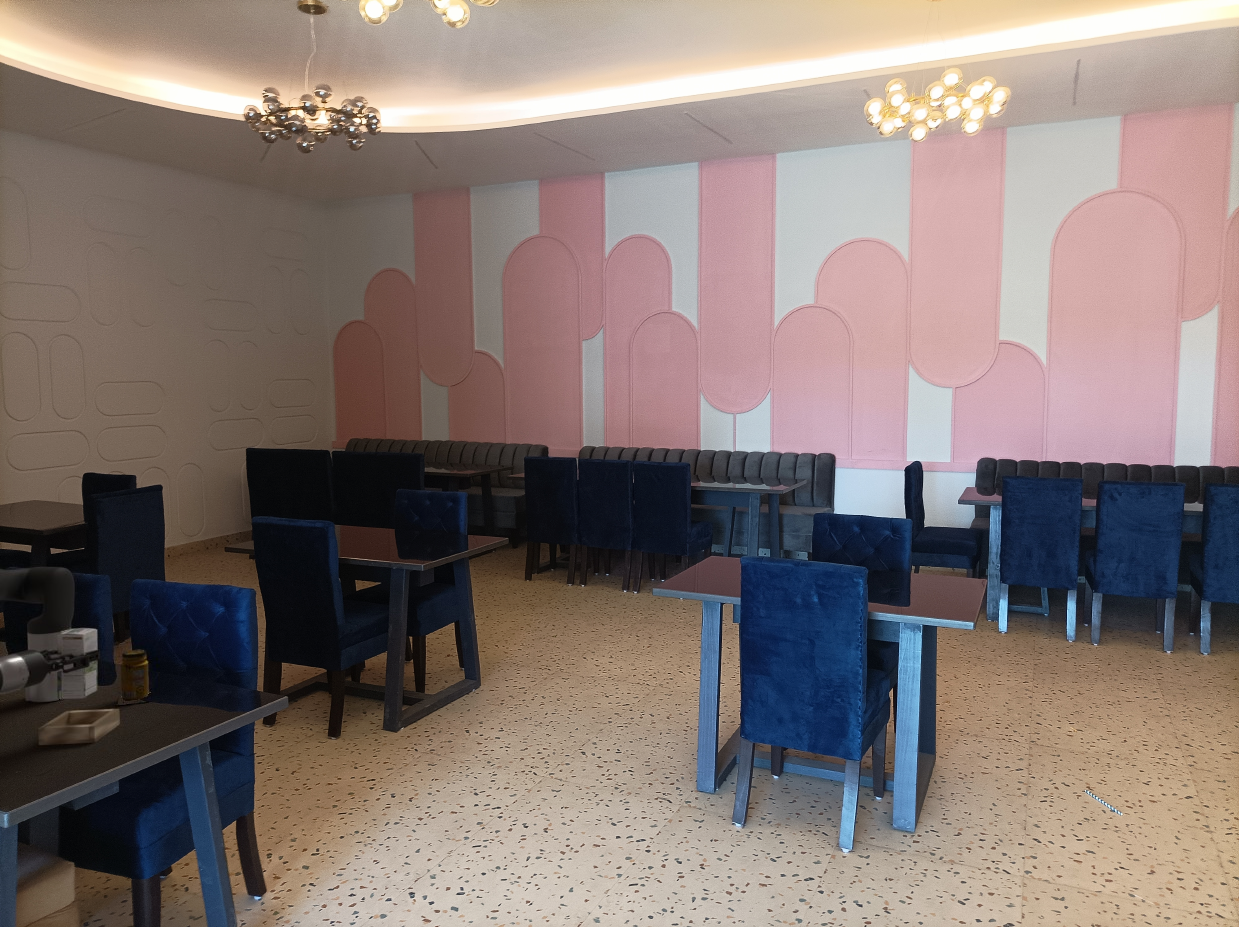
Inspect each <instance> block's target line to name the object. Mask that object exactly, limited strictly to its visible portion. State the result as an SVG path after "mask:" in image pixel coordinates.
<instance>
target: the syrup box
mask: <svg viewBox="0 0 1239 927" xmlns="http://www.w3.org/2000/svg"><path fill="white" fill-rule="evenodd" d="M94 650H98V629H96V628H89V627H87V628H86V627H80V628H79V627H78V628H71V630H69V631H66V632H64V633H61V634H59V635H57V655H58V654H66V653H72V654H73V655H75V654H81V653H86V652H90V651H94ZM65 659H66V660H67V659H69V657H65ZM89 664H90V666H89V667H85V668H82V669H79V670H75V671H72V672H68V673H63V671H59V672H57V698H58V699H60V700H77V699H79V700H80V699H86V698H88V697H89V696H91V695H92V694H94V693H96V692H97V691H98V689H99V688H98V660H96V661H93V662H89Z"/></svg>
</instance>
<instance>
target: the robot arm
mask: <svg viewBox="0 0 1239 927" xmlns="http://www.w3.org/2000/svg"><path fill="white" fill-rule="evenodd" d="M75 586H76V585H75V579H74V576H73V573H72V572H71V571H70V569H68V568H66V567H62V566H35V567H27V568H19V569H16V568H15V569H3V568H0V601H13V602H20V603H28V604H38V605H39V604H41V605H42V604H43V609H42V610H43V611H42V614H41V615H39V616H37V617H34V618H31V619H30V620H29V621H28V622H27V627H26V628H27V650H23V651H19V652H15V653H11V654H8V655H3V656H0V695H6V694H8V693H9V694H10V693H12V692H16V691H19V690H24V689H25V701H26V702H33V703H47V702H54V701H60V700H59V699H58V698H57V672H59V671H63V673H68V672H72V671H75V670H79V669H82V668H85V667H89V666H90V664H89V662H93V661H96V660H97V661H100V660H101V658H102V657H101V656H102V655H101V654H102V653H101V650H100V649H97V650H94V651H90V652H86V653H81V654H75V655H73V654H72V653H66V654H58V655H57V635H59V634H61V633H64V632H66V631H69V630H71V629H72V620H73V617H74V613H75V591H76V590H75V588H76V587H75ZM65 657H69V659H67V660H66V659H65Z"/></svg>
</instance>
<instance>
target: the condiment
mask: <svg viewBox="0 0 1239 927" xmlns="http://www.w3.org/2000/svg"><path fill="white" fill-rule="evenodd" d="M121 657H122V659H121V661H122V663H121V665H120V692H121V693H120V694H121V695H120V696H121V697H122V699H123V700H125V701H131V700H138V699H142V698H144V697H147V696H148V694H149V693H150V689H149V688H150V687H149V684H150V682H149V681H150V680H149V661H148V660H147V651H146V650H144V649H133V650H127V651H124V652H123V653H122V656H121Z"/></svg>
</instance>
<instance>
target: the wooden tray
mask: <svg viewBox="0 0 1239 927" xmlns="http://www.w3.org/2000/svg"><path fill="white" fill-rule="evenodd" d="M120 715H121V714H120V708H109V709H108V708H107V709H106V708H104V709H87V710H86V709H85V710H84V709H83V710H82V709H80V710H66V711H64V712H62V713H61V714H59V715H57V716H56V717H55V718H53V719H51V720H50V721H48V722H46V723H45V724H43V725H42V726H40V727H39V728H38V729H37V732H38V733H37V734H38V745H39V746H47V745H48V746H49V745H65V744H66V745H68V744H70V745H71V744H92V743H96V742H97V741H99V740H100V739H102V738H104V737H105V736H106V735H107V734H108V733H110V732H111V731H113V730H114V729H115V728H117V727H118V726H119V725H121V721H120Z"/></svg>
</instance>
